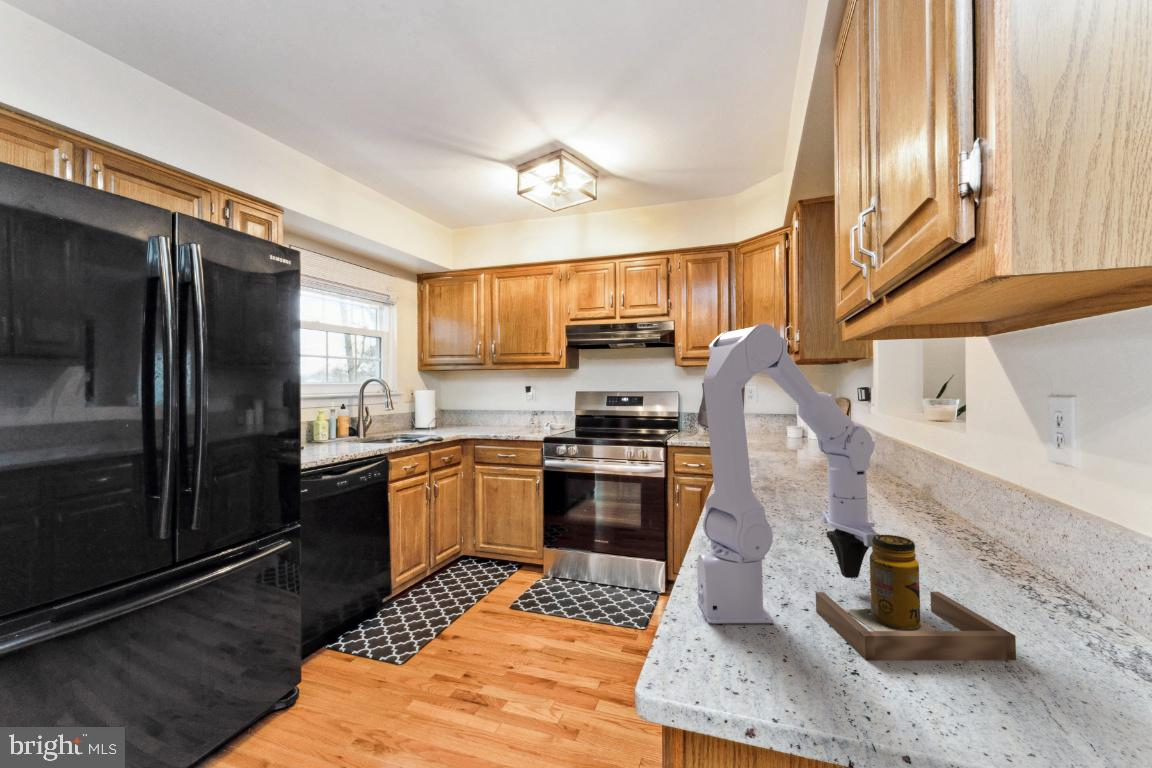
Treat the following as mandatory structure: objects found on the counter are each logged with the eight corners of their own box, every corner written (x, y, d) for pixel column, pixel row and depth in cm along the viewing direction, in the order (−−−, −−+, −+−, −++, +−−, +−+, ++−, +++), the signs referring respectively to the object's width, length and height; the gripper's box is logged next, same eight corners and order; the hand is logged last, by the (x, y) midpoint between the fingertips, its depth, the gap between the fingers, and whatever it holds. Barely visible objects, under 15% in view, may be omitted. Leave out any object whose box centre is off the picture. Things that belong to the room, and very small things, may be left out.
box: (865, 660, 60) (864, 635, 60) (816, 611, 73) (815, 592, 73) (1016, 659, 59) (1015, 635, 59) (939, 611, 72) (938, 591, 73)
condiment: (936, 631, 67) (934, 545, 67) (881, 636, 66) (878, 548, 66) (896, 608, 74) (893, 530, 74) (845, 612, 73) (843, 533, 73)
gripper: (899, 505, 73) (902, 594, 73) (848, 486, 88) (851, 560, 88) (852, 505, 74) (855, 594, 73) (809, 487, 88) (811, 561, 88)
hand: (850, 576), depth 80 cm, fingers closed
